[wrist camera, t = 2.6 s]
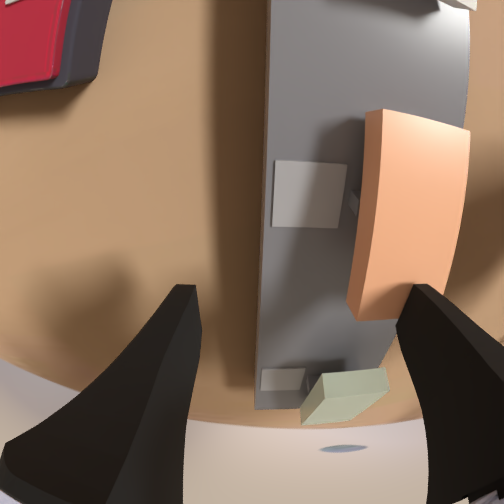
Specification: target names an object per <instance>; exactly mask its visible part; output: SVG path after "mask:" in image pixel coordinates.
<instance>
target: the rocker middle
mask: <svg viewBox="0 0 504 504" xmlns="http://www.w3.org/2000/svg"><path fill="white" fill-rule="evenodd" d="M469 150H470V131H467V130H464V129H461V128H458V127H455V126H452V125H448V124H445V123H441V122H438V121H434V120H430V119H426V118H423V117H419V116H414V115H410V114H406V113H401V112H397V111H392V110H387V109H379V110H374V111H369V112H365V142H364V161H363V175H362V187H361V198H360V208H359V217H358V225H357V234H356V241H355V248H354V255H353V262H352V268H351V275H350V281H349V286H348V292H347V298H346V303H347V305H348V306H349V308H350V310H351V312H352V314H353V316H354V318H355V320H356V321H373V320H387V319H399V317H400V314H401V312H402V310H403V308H404V305H405V303H406V301H407V299H408V296H409V294H410V291H411V289H412V287H413V284H428V285H430V286H431V287H433V288H434V289H436V290H437V291H438V292H439V293H441V294H442V295H443V294H444V290H445V287H446V283H447V280H448V276H449V273H450V269H451V265H452V261H453V257H454V253H455V248H456V244H457V239H458V234H459V229H460V224H461V218H462V212H463V206H464V199H465V192H466V184H467V175H468V164H469Z"/></svg>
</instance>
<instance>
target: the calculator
mask: <svg viewBox="0 0 504 504" xmlns="http://www.w3.org/2000/svg"><path fill="white" fill-rule="evenodd" d="M111 3H112V0H0V96H3V95H9V94H16V93H23V92H31V91H41V90H52V89H62V88H66V87H70V86H74V85H79V84H83V83H87V82H91V81H93V80H94V79H95V78H96V76H97V74H98V69H99V62H100V56H101V50H102V44H103V39H104V34H105V29H106V24H107V20H108V15H109V11H110V7H111Z"/></svg>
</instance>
